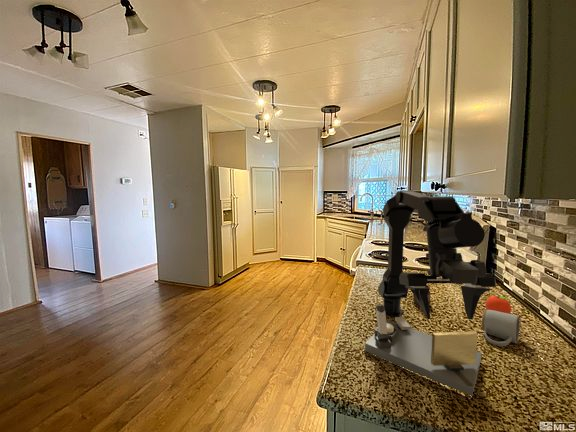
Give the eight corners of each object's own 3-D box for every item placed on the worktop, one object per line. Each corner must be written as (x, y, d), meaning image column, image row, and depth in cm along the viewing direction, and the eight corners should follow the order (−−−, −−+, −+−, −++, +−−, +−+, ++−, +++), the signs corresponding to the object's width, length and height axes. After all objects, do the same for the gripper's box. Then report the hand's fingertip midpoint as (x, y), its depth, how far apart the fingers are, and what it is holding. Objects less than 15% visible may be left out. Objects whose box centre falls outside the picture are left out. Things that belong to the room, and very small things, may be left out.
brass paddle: (428, 362, 60) (429, 330, 59) (468, 360, 60) (470, 329, 60) (436, 371, 57) (437, 337, 56) (478, 369, 57) (480, 336, 57)
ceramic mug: (485, 326, 81) (486, 303, 80) (519, 337, 75) (521, 312, 74) (477, 340, 74) (478, 315, 73) (514, 353, 68) (516, 326, 67)
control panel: (387, 327, 80) (387, 315, 80) (480, 361, 64) (482, 346, 64) (364, 351, 69) (365, 336, 68) (472, 400, 52) (473, 381, 52)
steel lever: (377, 338, 68) (373, 304, 70) (386, 338, 68) (383, 304, 70) (380, 340, 66) (376, 305, 68) (390, 340, 66) (386, 304, 68)
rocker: (394, 320, 78) (395, 317, 77) (403, 319, 78) (403, 317, 77) (401, 329, 73) (402, 326, 73) (410, 329, 73) (410, 326, 73)
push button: (383, 326, 74) (383, 321, 74) (395, 331, 72) (395, 326, 72) (378, 331, 72) (378, 326, 72) (390, 336, 69) (390, 331, 69)
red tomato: (507, 312, 89) (508, 293, 89) (519, 322, 83) (521, 302, 82) (481, 309, 92) (482, 291, 91) (490, 319, 85) (492, 299, 84)
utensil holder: (412, 304, 96) (414, 274, 95) (413, 298, 102) (414, 269, 101) (430, 307, 93) (431, 277, 92) (429, 301, 99) (431, 272, 98)
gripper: (417, 247, 51) (424, 328, 48) (512, 247, 50) (524, 329, 47) (396, 249, 62) (401, 315, 59) (473, 249, 61) (482, 316, 58)
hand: (448, 319), depth 56 cm, fingers open, 9 cm apart
